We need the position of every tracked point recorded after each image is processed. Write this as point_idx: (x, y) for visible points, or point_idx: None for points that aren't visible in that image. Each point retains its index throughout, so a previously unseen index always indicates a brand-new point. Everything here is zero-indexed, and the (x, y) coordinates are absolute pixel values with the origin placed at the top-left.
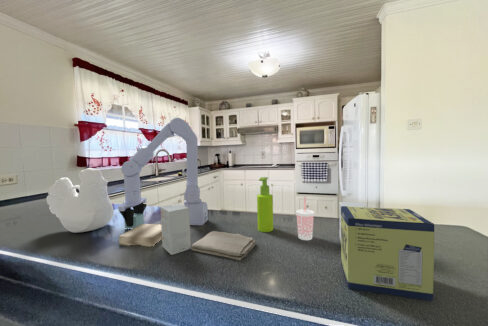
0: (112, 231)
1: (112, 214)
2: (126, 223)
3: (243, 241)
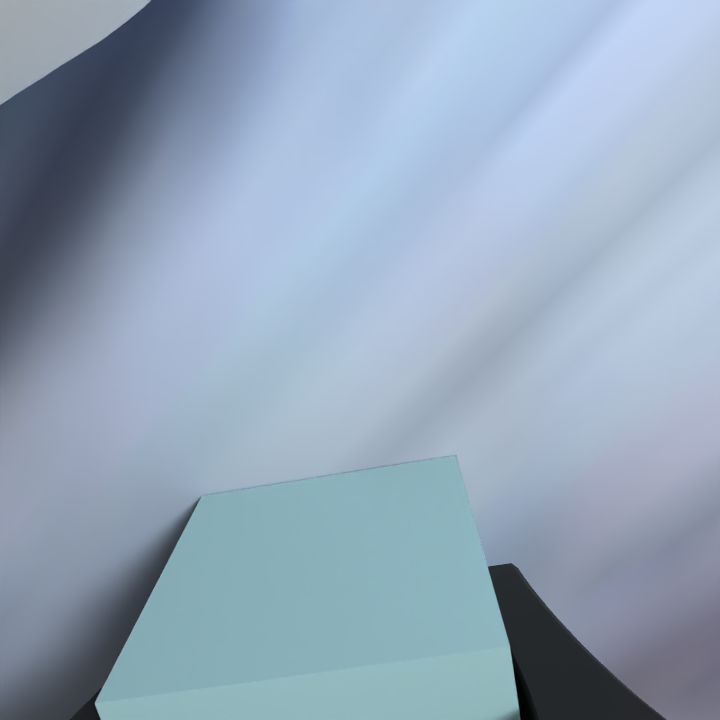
0: (25, 350)
1: (32, 81)
2: None
3: None
